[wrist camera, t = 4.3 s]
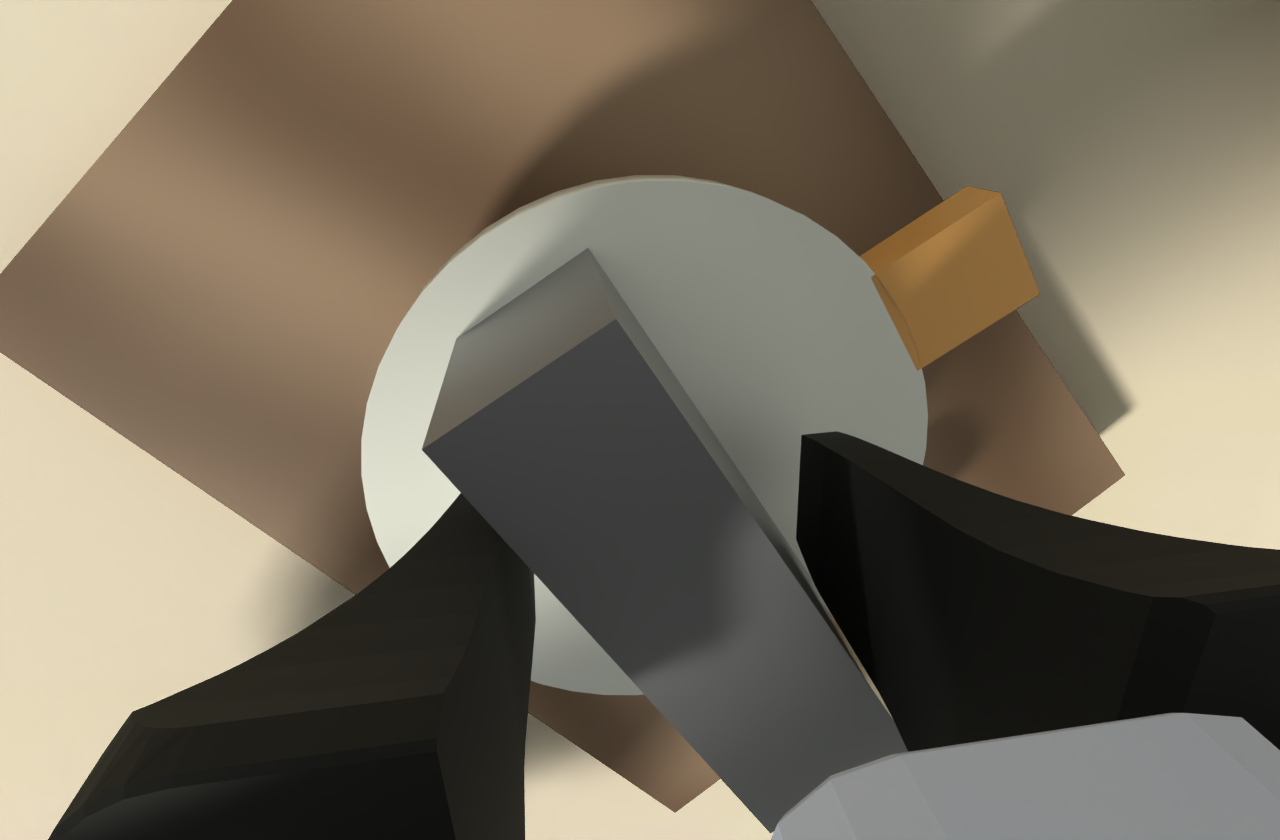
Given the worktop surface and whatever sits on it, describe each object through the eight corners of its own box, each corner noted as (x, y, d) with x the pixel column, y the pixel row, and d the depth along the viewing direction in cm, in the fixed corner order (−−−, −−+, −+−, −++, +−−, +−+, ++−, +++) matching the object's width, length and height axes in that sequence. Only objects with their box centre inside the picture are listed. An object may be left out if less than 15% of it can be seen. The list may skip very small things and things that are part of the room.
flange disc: (582, 733, 16) (602, 975, 12) (245, 397, 12) (79, 570, 8) (1070, 439, 15) (1304, 586, 10) (872, -46, 11) (1113, -149, 6)
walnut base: (666, 768, 22) (699, 932, 18) (12, 302, 14) (-211, 389, 10) (1083, 448, 19) (1243, 549, 15) (554, -327, 12) (567, -577, 7)
